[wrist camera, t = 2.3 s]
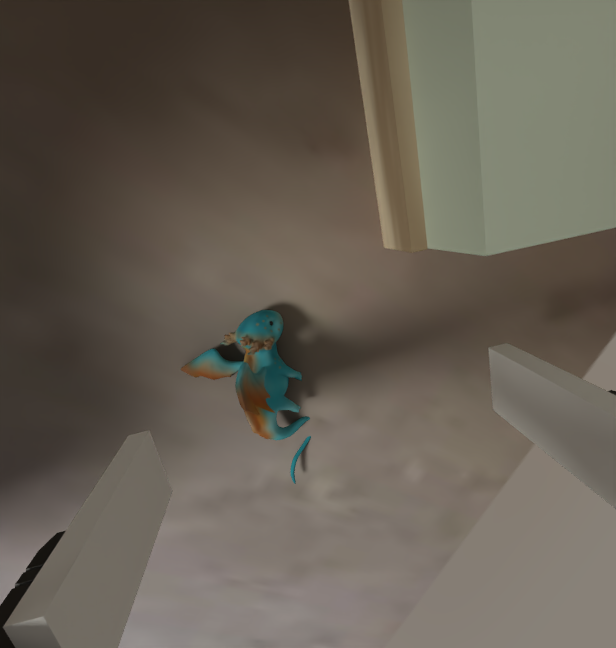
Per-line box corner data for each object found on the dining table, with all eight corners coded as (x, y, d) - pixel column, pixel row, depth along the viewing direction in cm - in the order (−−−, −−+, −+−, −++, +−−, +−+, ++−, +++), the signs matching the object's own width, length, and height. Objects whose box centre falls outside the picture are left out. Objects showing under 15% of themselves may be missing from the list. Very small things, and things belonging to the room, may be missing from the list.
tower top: (427, 248, 15) (486, 256, 11) (392, -96, 12) (456, -254, 8) (674, 194, 15) (812, 183, 12) (702, -143, 12) (901, -309, 9)
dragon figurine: (395, 379, 19) (298, 302, 14) (336, 515, 18) (204, 481, 13) (315, 354, 24) (222, 290, 19) (263, 458, 23) (147, 418, 18)
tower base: (381, 247, 19) (411, 252, 15) (339, -41, 15) (364, -131, 11) (599, 198, 19) (683, 191, 15) (605, -86, 16) (713, -185, 12)
